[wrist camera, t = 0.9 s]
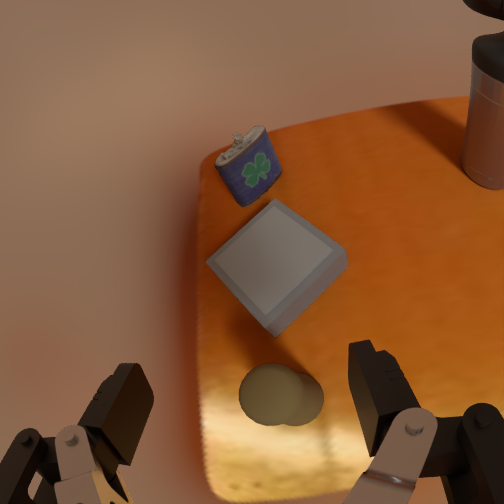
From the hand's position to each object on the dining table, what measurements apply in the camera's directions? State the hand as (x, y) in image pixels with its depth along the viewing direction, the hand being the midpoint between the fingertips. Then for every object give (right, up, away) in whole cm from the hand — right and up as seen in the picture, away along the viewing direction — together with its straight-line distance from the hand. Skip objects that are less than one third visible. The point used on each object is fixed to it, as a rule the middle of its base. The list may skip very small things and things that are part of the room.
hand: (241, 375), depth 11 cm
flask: (+2, +14, +36) cm, 39 cm away
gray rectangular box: (+4, +2, +27) cm, 28 cm away
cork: (+5, -11, +19) cm, 23 cm away
